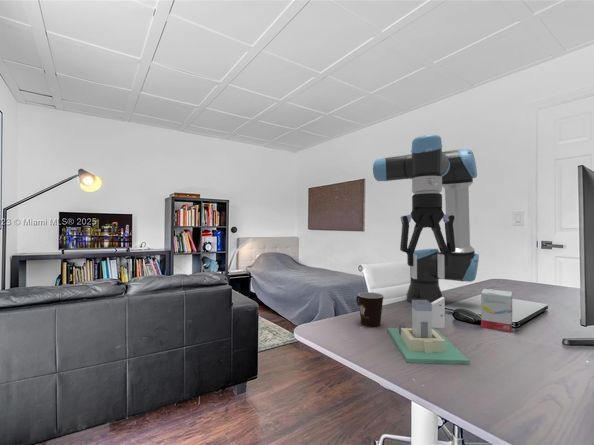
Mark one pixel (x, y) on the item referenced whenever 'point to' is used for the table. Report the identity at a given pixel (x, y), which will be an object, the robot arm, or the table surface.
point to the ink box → (496, 310)
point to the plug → (421, 319)
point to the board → (426, 347)
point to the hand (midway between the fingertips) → (427, 278)
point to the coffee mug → (370, 308)
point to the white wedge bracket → (438, 313)
